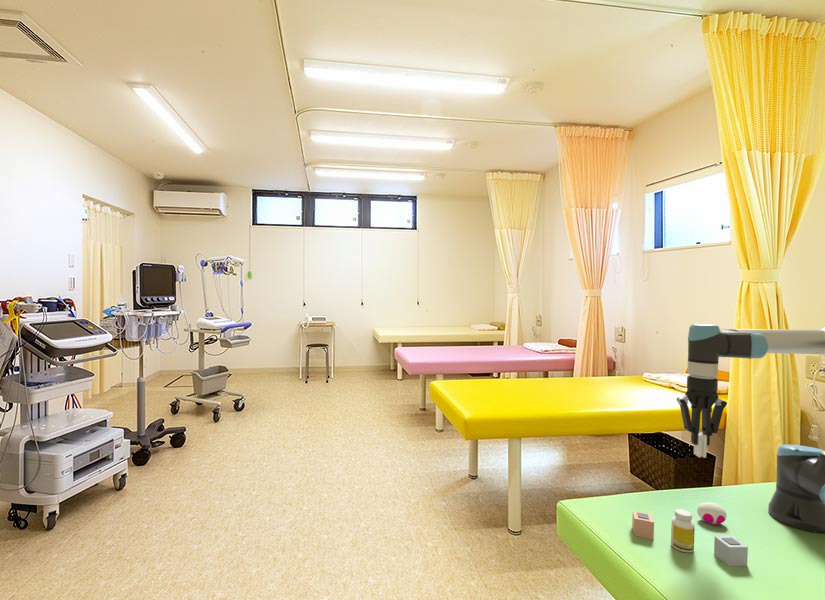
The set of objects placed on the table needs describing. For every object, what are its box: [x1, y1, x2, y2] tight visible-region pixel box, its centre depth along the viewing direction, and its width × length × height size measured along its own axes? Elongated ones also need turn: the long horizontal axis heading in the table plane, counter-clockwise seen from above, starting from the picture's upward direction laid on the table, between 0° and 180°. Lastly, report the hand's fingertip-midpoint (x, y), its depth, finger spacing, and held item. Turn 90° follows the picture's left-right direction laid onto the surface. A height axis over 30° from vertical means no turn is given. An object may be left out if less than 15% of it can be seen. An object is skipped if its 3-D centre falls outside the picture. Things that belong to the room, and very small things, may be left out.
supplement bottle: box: [670, 508, 696, 553], centre depth 118 cm, size 5×5×10 cm
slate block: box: [713, 535, 749, 567], centre depth 113 cm, size 5×5×5 cm
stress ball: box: [696, 501, 728, 527], centre depth 131 cm, size 8×8×7 cm
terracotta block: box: [631, 510, 655, 540], centre depth 125 cm, size 5×5×5 cm
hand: (699, 455), depth 126 cm, fingers closed
